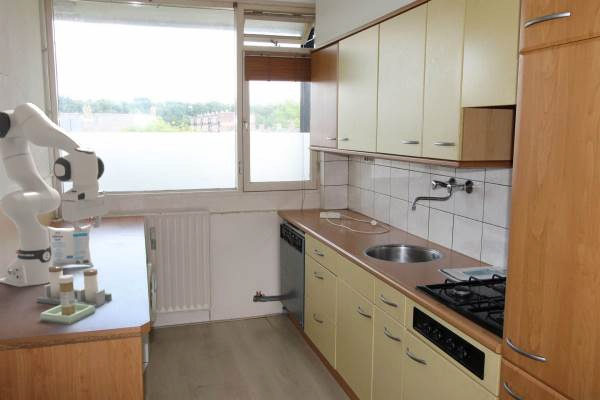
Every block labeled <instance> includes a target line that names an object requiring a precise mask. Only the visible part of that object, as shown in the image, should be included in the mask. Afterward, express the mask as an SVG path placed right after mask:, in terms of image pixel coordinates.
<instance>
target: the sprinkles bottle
mask: <svg viewBox="0 0 600 400" xmlns="http://www.w3.org/2000/svg"><path fill="white" fill-rule="evenodd" d="M74 280H75V279H74V276H73V274H65V275H64V274H63V276H60V277H59V284H60V300H61V311H62V313H61V315H66V316H70V315H72V314H74V313H76V312H75V301H76V300H75V298H76V297H74V289H75V288H74Z"/></svg>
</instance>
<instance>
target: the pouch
mask: <svg viewBox="0 0 600 400" xmlns="http://www.w3.org/2000/svg"><path fill="white" fill-rule="evenodd" d="M92 225H93V223H90V224H88V225H85V226H80V227H81V232H79V233H75V230H74V227H71V228H63V227H60V228H58V227H57V228H56V227H52V226H48V225H47V226H46V227H47V229H48V231H49V241H50V247H51V259H52V264H53V266H63V267H64V266H69V265H70V266H71V265H78V266H83V265H84V266H90V267H94V264H93V261H92V258H91V250H90V232H91V228H92Z"/></svg>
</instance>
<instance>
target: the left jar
mask: <svg viewBox="0 0 600 400" xmlns="http://www.w3.org/2000/svg"><path fill="white" fill-rule="evenodd" d="M63 267H64V266H51V267H49V278H50V282H49V284H50V292H51V298H55V299H60V284H59V277H60V276H63V275H64V274H63V272H64V271H63V269H64V268H63Z"/></svg>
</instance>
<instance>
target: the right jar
mask: <svg viewBox="0 0 600 400" xmlns="http://www.w3.org/2000/svg"><path fill="white" fill-rule="evenodd" d="M98 273H99V272H98V269H95V268H91V269H90V268H89V269H85V270H83V271H82V274H83V284H84V287H85V302H86V303H94V304H95V305H96V303H95V292H97V291H99V282H98V281H99V280H98ZM84 287H83V288H84Z"/></svg>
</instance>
